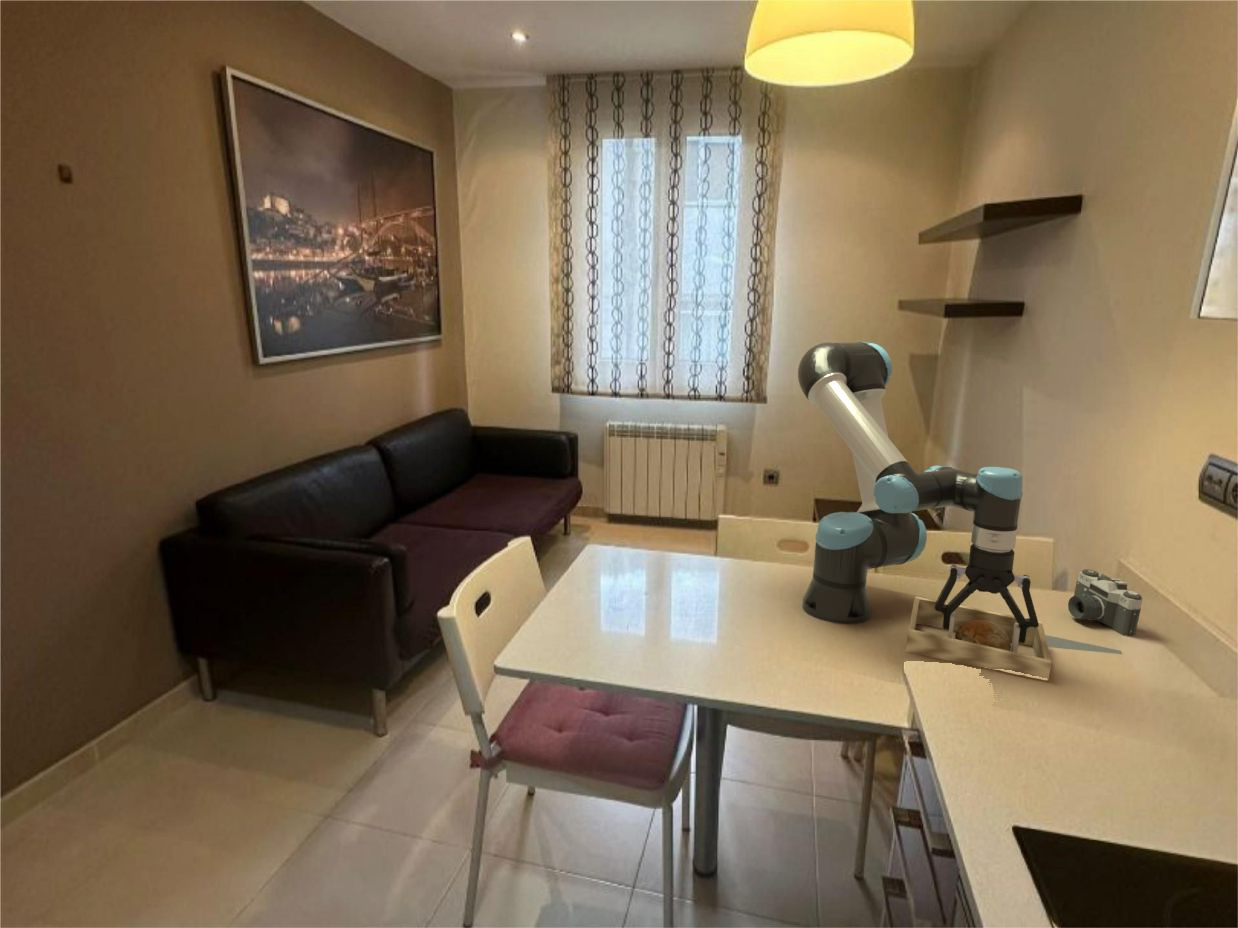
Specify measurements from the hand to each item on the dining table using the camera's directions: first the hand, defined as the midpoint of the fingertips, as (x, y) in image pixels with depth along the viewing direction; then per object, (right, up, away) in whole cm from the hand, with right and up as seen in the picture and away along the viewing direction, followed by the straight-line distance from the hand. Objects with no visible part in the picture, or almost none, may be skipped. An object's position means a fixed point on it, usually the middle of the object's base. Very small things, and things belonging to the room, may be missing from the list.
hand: (980, 649), depth 130 cm
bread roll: (-1, -2, +1) cm, 2 cm away
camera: (+35, +2, +16) cm, 38 cm away
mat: (+20, -2, -1) cm, 20 cm away
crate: (-1, -1, +1) cm, 2 cm away
